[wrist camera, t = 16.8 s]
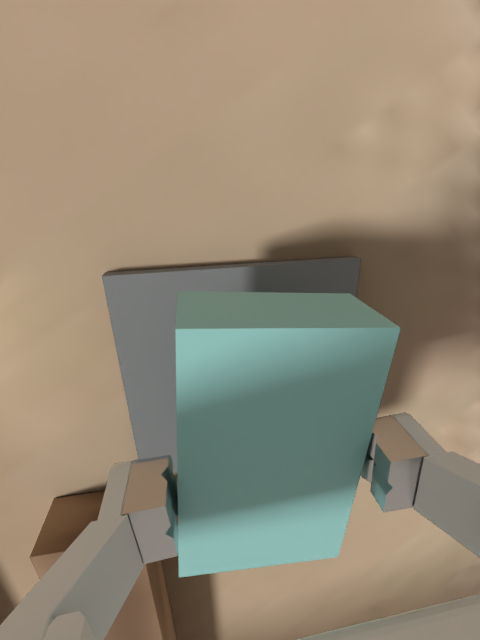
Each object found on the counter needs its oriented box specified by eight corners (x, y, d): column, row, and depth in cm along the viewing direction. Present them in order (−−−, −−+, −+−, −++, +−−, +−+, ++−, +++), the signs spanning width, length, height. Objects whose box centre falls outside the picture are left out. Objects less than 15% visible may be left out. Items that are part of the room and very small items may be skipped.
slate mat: (143, 468, 15) (141, 477, 14) (105, 272, 11) (101, 276, 11) (333, 441, 16) (338, 449, 15) (354, 256, 12) (360, 259, 12)
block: (180, 501, 12) (178, 577, 10) (177, 291, 9) (175, 328, 7) (310, 489, 13) (338, 556, 10) (349, 293, 10) (400, 327, 7)
